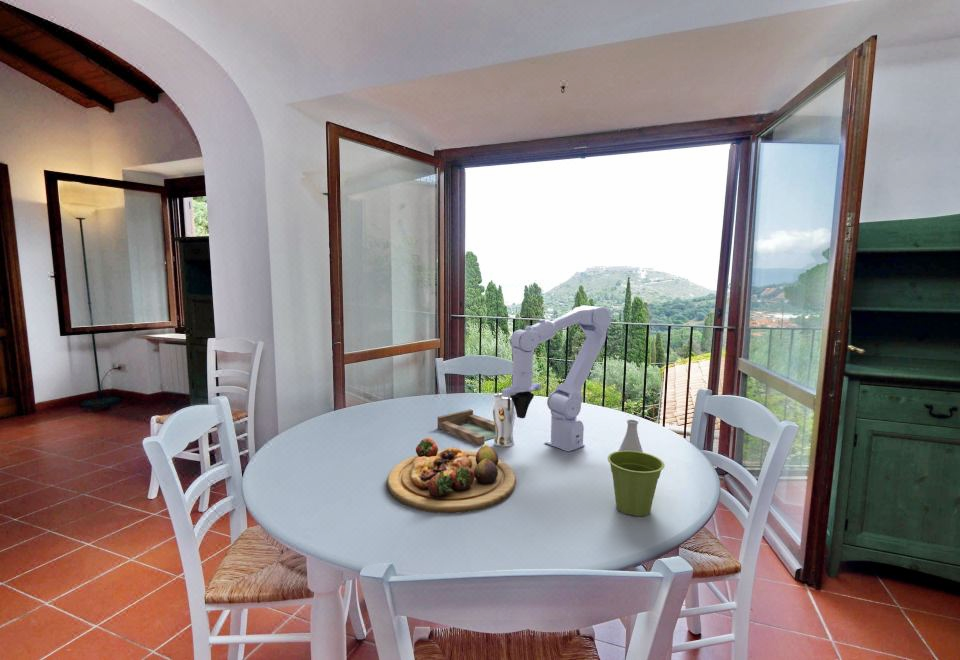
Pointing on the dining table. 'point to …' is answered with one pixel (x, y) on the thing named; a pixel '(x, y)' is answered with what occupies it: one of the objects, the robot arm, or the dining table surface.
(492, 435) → the cradle
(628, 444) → the flask
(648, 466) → the plant pot
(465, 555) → the dining table surface
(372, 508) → the dining table surface
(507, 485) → the wooden plate with food
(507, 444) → the beer glass
